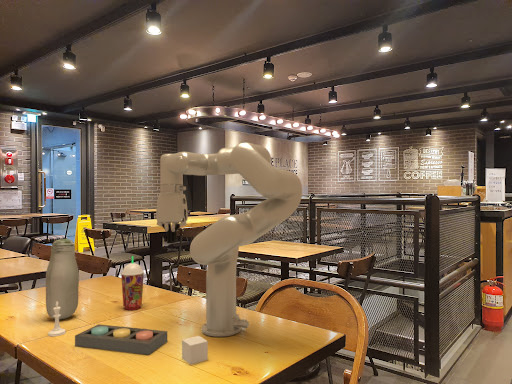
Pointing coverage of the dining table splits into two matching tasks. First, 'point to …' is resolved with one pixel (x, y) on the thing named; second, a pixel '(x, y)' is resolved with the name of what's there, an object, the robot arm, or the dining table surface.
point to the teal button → (99, 330)
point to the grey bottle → (62, 279)
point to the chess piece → (56, 323)
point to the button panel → (121, 340)
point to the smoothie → (132, 286)
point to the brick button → (144, 335)
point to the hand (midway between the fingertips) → (171, 242)
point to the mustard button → (121, 333)
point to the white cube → (194, 350)
